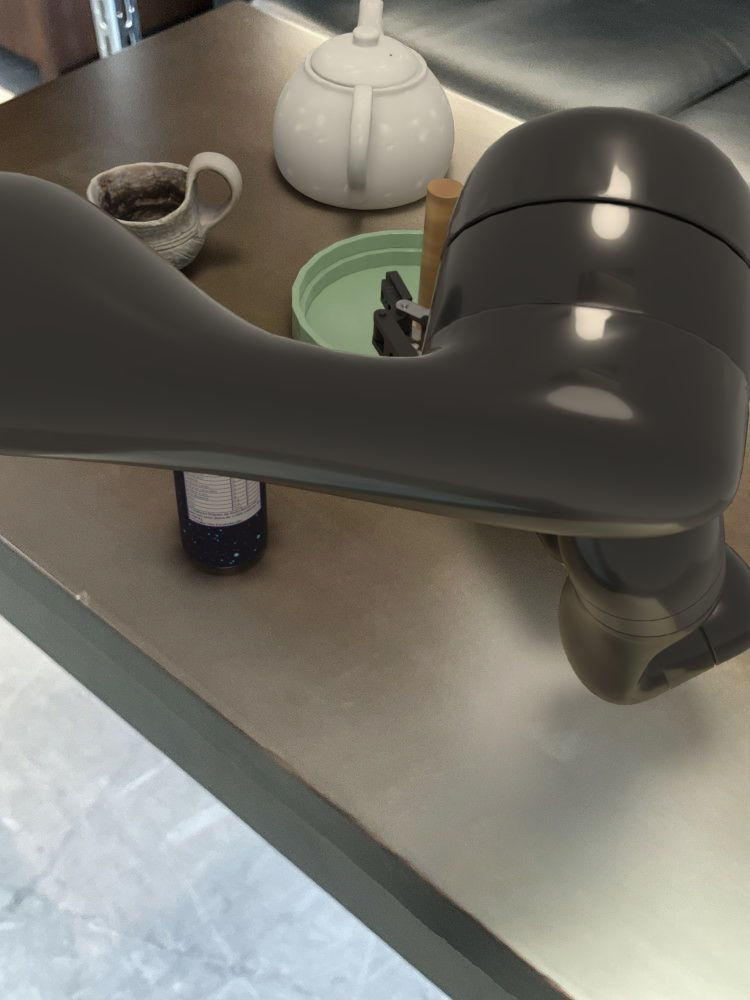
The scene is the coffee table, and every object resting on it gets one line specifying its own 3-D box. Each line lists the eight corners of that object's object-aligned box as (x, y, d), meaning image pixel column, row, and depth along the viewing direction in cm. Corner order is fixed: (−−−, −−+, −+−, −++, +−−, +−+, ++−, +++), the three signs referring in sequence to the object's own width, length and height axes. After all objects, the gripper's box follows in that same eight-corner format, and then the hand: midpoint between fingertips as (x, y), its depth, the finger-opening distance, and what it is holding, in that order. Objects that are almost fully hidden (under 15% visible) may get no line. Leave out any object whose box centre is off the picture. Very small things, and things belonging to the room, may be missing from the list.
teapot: (225, 162, 110) (217, 21, 101) (367, 106, 119) (373, -28, 110) (354, 248, 101) (359, 102, 91) (497, 180, 110) (516, 41, 100)
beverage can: (284, 535, 77) (281, 399, 69) (235, 590, 74) (226, 455, 65) (215, 502, 79) (204, 366, 70) (164, 554, 76) (146, 418, 67)
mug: (94, 234, 101) (78, 128, 94) (236, 223, 103) (231, 119, 96) (100, 299, 94) (83, 191, 87) (251, 285, 97) (247, 179, 90)
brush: (394, 379, 88) (406, 208, 77) (392, 334, 92) (404, 165, 81) (467, 381, 88) (489, 210, 77) (462, 336, 92) (483, 167, 81)
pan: (291, 410, 86) (291, 374, 83) (292, 263, 99) (292, 228, 97) (545, 411, 87) (552, 375, 85) (512, 265, 100) (517, 230, 98)
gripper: (650, 353, 71) (544, 213, 81) (434, 392, 67) (352, 241, 78) (626, 442, 76) (529, 300, 87) (424, 482, 73) (349, 330, 83)
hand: (445, 272), depth 82 cm, fingers open, 8 cm apart
